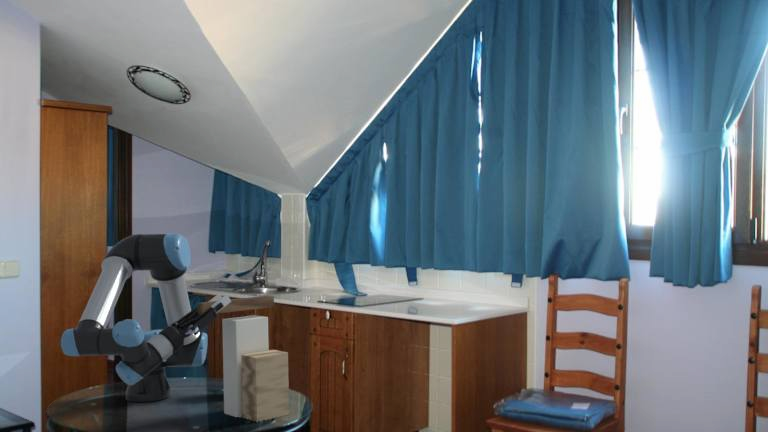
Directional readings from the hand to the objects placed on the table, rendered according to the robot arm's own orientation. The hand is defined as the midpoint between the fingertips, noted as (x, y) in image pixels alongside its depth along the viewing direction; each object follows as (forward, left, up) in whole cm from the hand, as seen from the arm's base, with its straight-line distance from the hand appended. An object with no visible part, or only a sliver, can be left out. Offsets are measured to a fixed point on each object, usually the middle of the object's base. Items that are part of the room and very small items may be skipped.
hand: (224, 297), depth 229 cm
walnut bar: (0, +4, -4) cm, 6 cm away
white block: (0, +7, -37) cm, 38 cm away
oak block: (+9, +8, -37) cm, 39 cm away
